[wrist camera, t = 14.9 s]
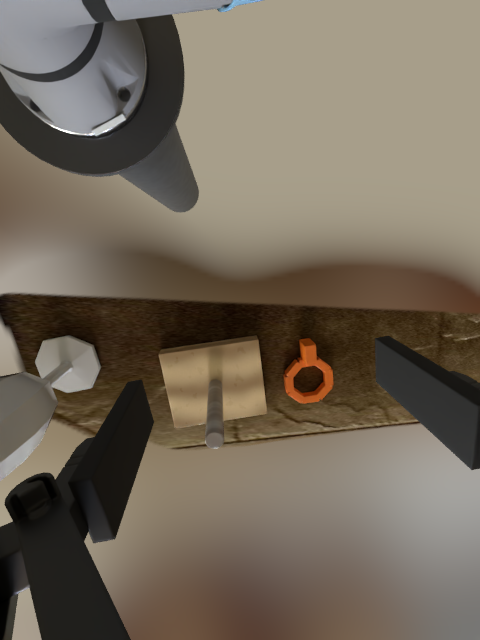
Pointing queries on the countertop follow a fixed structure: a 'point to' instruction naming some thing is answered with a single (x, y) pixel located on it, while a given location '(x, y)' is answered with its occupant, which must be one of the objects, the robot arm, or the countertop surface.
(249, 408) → the board
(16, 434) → the wineglass
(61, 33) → the robot arm
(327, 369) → the ring
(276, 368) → the countertop surface
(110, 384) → the countertop surface
